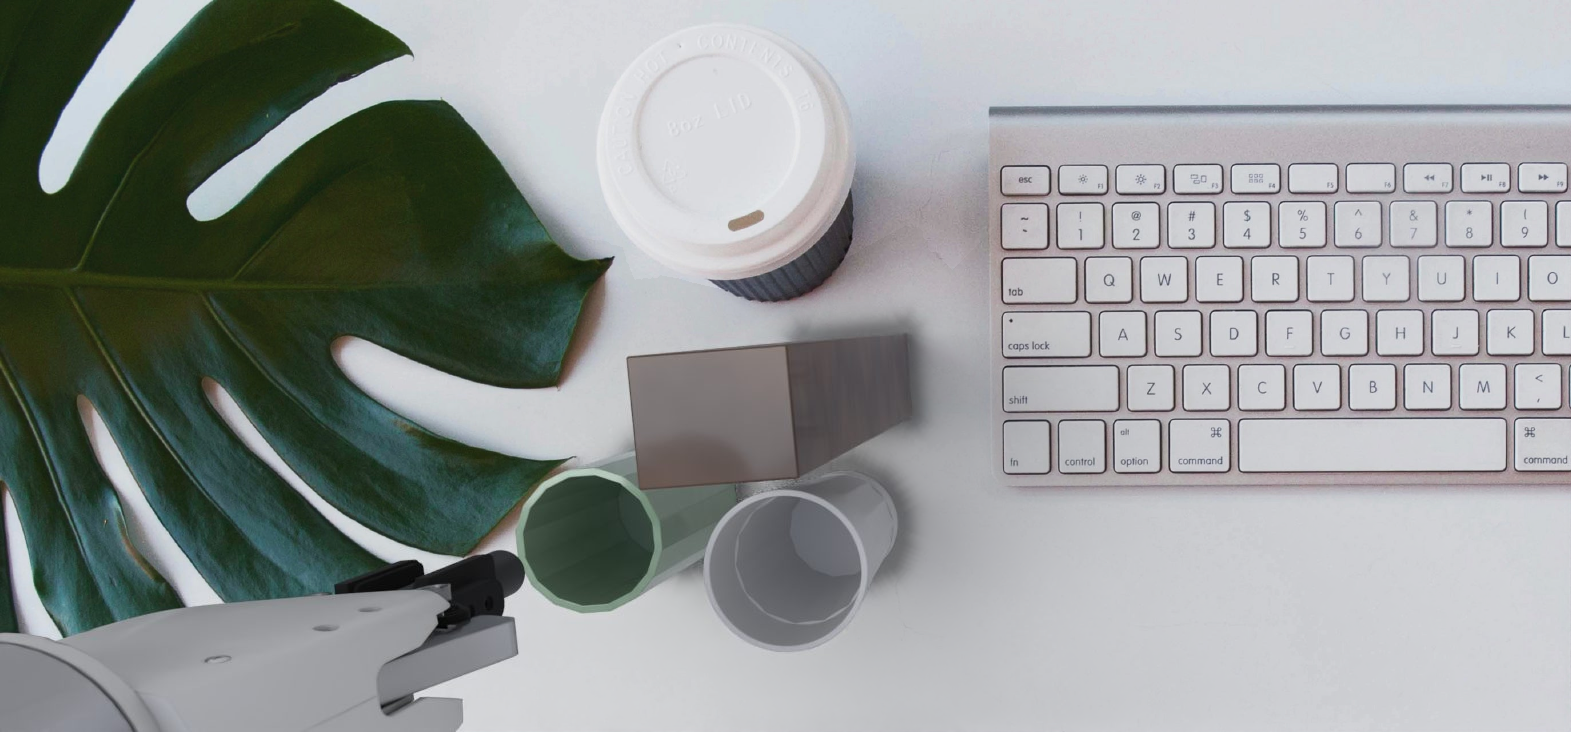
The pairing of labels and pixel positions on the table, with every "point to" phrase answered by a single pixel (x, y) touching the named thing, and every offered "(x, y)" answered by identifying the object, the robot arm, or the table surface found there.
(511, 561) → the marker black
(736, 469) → the stand
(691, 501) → the glass
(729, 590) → the cup
